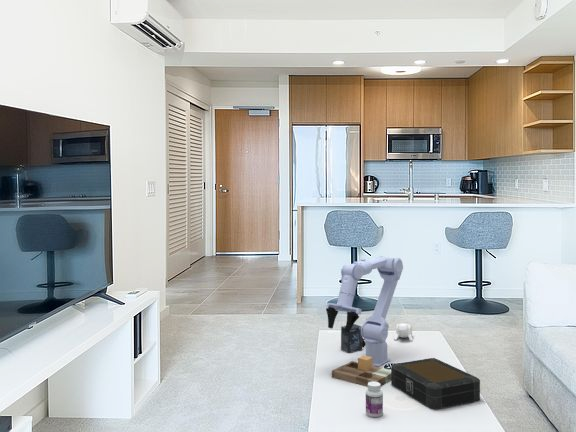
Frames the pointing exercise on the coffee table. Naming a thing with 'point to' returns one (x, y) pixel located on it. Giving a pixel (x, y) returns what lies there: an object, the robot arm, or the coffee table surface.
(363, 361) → the block
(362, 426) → the coffee table surface
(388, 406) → the coffee table surface
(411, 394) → the cash box
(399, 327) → the white rounded figure
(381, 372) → the trap board
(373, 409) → the pill bottle
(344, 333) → the box
